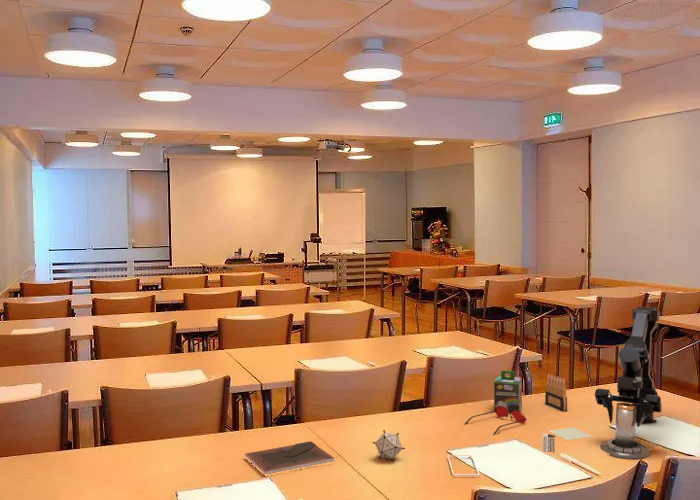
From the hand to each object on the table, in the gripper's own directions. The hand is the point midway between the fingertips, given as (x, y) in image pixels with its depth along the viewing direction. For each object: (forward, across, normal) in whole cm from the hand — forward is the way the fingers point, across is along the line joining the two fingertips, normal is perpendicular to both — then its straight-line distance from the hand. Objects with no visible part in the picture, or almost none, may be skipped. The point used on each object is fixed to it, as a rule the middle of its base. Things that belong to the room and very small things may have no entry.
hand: (624, 424), depth 208 cm
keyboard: (+9, -20, +4) cm, 23 cm away
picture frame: (+46, -84, -33) cm, 101 cm away
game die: (+34, -59, -22) cm, 72 cm away
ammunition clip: (-20, -30, +33) cm, 49 cm away
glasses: (+2, -42, +11) cm, 44 cm away
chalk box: (-12, -44, +25) cm, 52 cm away
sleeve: (+4, 0, +6) cm, 8 cm away
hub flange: (+5, 0, +7) cm, 9 cm away
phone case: (+31, -37, -18) cm, 52 cm away
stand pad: (0, -18, +12) cm, 21 cm away
